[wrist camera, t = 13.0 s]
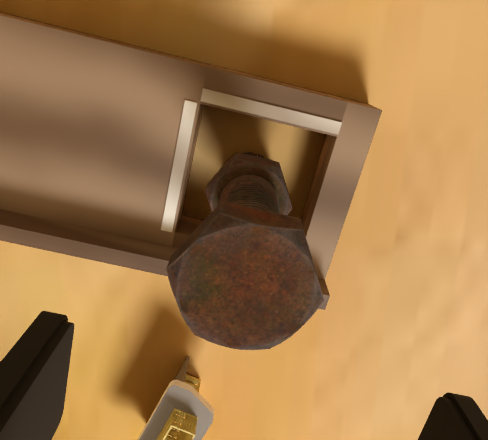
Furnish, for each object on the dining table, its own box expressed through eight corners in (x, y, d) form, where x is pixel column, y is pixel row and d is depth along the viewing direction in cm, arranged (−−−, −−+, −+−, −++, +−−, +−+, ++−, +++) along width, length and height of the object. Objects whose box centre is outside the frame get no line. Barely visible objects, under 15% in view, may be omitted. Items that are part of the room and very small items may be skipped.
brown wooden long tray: (313, 271, 32) (324, 309, 28) (-120, 176, 30) (-188, 200, 25) (369, 104, 28) (392, 115, 23) (-130, -21, 26) (-213, -36, 21)
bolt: (199, 201, 31) (153, 334, 17) (213, 128, 29) (174, 207, 15) (283, 218, 31) (307, 363, 17) (302, 147, 29) (346, 242, 15)
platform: (297, 339, 35) (307, 401, 29) (197, 488, 41) (188, 566, 35) (154, 275, 33) (132, 326, 27) (71, 441, 39) (38, 514, 33)
